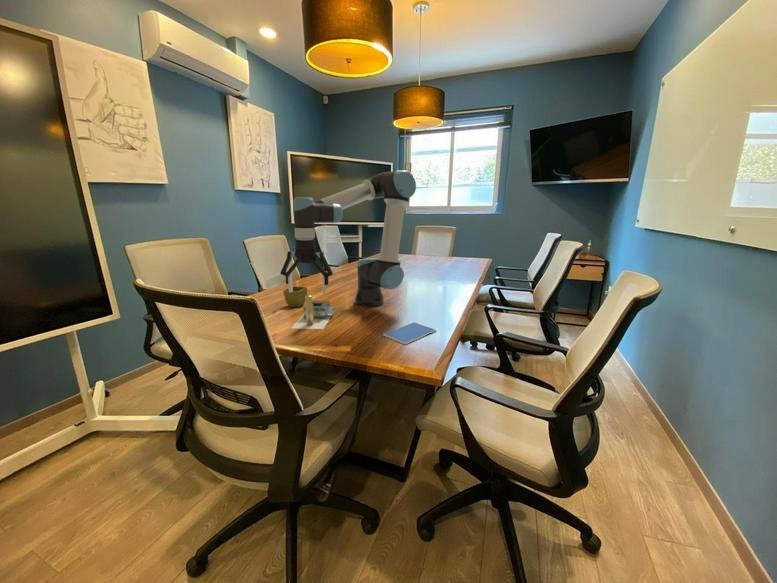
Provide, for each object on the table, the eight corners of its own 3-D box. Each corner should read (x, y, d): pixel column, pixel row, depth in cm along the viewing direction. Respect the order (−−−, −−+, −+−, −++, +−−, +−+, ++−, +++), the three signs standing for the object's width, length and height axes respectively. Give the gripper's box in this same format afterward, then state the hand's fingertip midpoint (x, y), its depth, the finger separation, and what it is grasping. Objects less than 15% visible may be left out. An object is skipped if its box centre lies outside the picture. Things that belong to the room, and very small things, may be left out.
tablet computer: (413, 324, 139) (414, 321, 139) (437, 332, 130) (437, 329, 130) (381, 336, 126) (381, 333, 125) (405, 346, 117) (405, 343, 117)
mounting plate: (334, 314, 149) (334, 311, 149) (323, 332, 128) (323, 329, 128) (306, 313, 150) (306, 310, 149) (291, 331, 129) (290, 328, 128)
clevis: (336, 311, 149) (335, 301, 148) (331, 319, 139) (331, 308, 137) (310, 310, 149) (310, 300, 148) (304, 318, 139) (303, 307, 138)
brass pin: (314, 322, 134) (313, 295, 131) (313, 325, 131) (311, 297, 128) (307, 322, 134) (306, 295, 131) (305, 325, 131) (303, 297, 128)
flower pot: (283, 307, 159) (282, 290, 156) (293, 302, 167) (291, 285, 164) (300, 309, 157) (298, 291, 154) (308, 304, 165) (307, 287, 162)
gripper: (339, 238, 127) (340, 290, 132) (276, 237, 128) (280, 289, 133) (335, 240, 120) (336, 295, 125) (269, 239, 120) (273, 294, 126)
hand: (307, 292), depth 129 cm, fingers open, 13 cm apart
